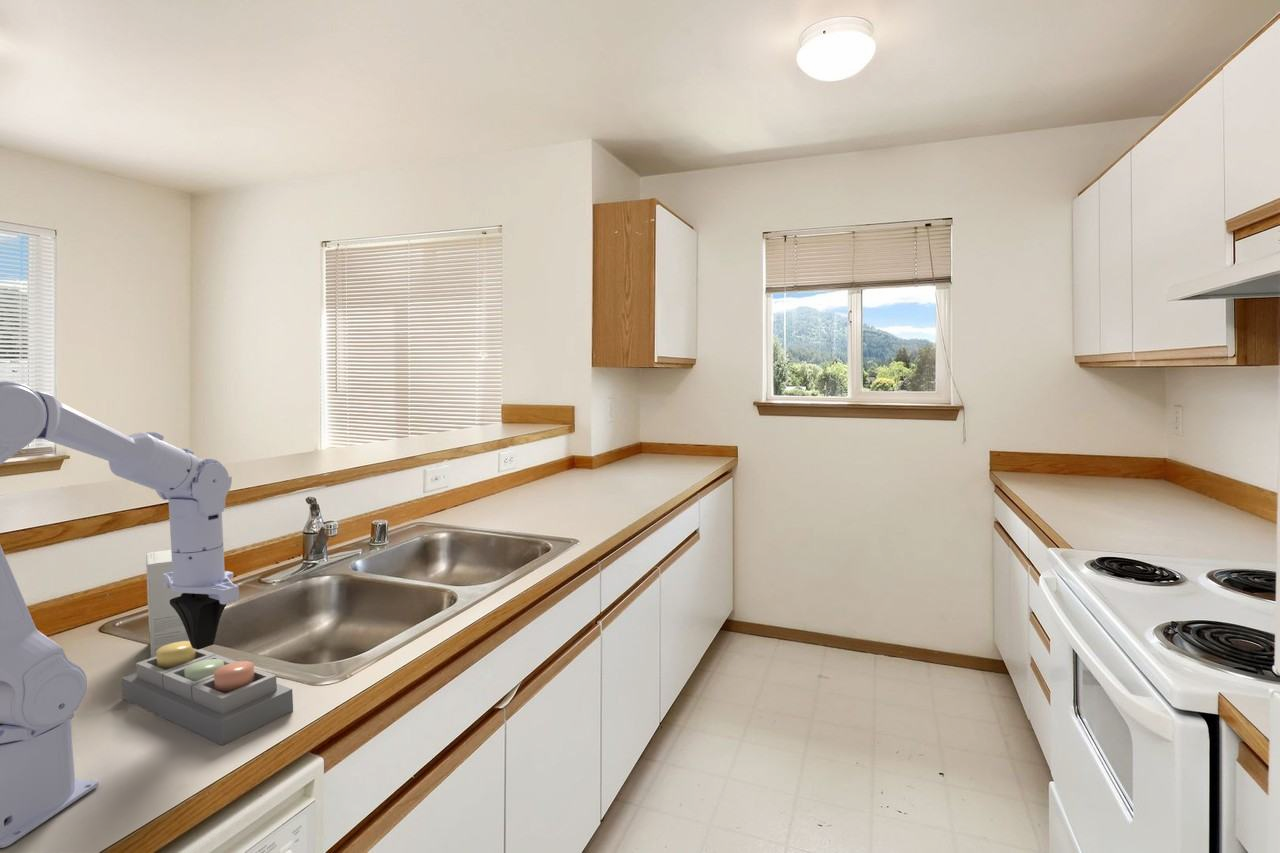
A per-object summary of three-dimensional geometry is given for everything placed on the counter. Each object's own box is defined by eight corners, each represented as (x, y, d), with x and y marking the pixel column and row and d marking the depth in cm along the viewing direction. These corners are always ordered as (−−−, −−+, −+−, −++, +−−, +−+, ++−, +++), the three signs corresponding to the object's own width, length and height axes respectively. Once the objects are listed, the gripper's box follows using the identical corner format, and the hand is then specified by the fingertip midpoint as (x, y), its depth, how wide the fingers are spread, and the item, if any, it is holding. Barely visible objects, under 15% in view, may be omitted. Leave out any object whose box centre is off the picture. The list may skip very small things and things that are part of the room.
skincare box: (150, 643, 106) (144, 552, 104) (197, 633, 110) (193, 545, 109) (150, 660, 99) (144, 563, 98) (201, 649, 103) (196, 556, 102)
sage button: (231, 677, 86) (230, 663, 86) (196, 691, 82) (195, 676, 82) (213, 670, 88) (212, 656, 88) (178, 683, 84) (177, 669, 84)
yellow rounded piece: (202, 658, 89) (201, 644, 89) (167, 671, 86) (166, 656, 85) (185, 652, 91) (184, 638, 91) (150, 664, 88) (149, 650, 87)
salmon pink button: (261, 680, 83) (261, 665, 83) (227, 694, 79) (226, 679, 79) (242, 672, 85) (241, 658, 85) (207, 687, 81) (206, 672, 81)
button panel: (293, 710, 84) (291, 674, 84) (222, 745, 76) (220, 705, 76) (193, 671, 95) (191, 640, 95) (123, 698, 87) (120, 663, 87)
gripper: (260, 547, 84) (265, 645, 85) (199, 534, 91) (204, 626, 92) (203, 560, 78) (209, 666, 79) (143, 546, 85) (149, 644, 86)
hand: (203, 646), depth 85 cm, fingers closed
